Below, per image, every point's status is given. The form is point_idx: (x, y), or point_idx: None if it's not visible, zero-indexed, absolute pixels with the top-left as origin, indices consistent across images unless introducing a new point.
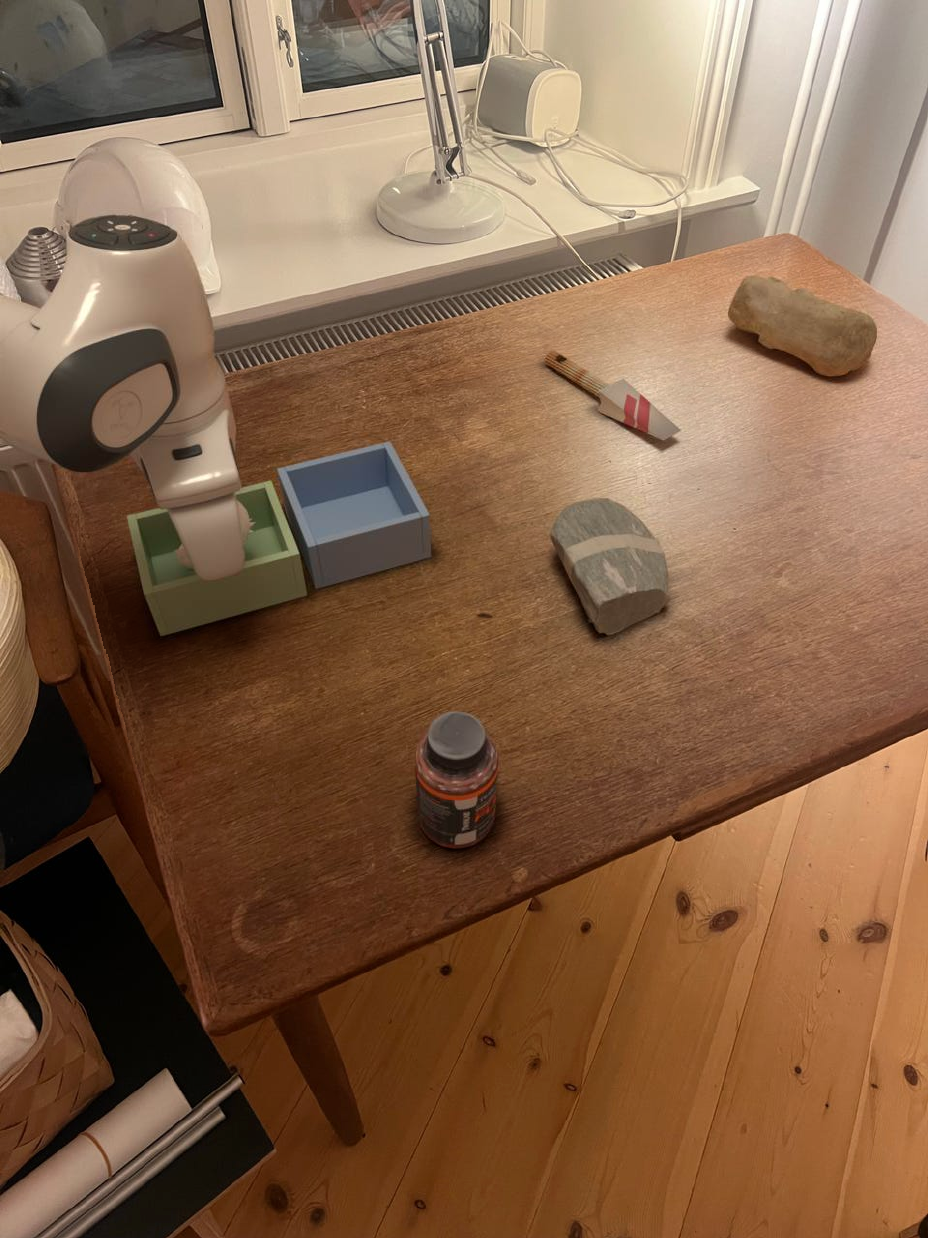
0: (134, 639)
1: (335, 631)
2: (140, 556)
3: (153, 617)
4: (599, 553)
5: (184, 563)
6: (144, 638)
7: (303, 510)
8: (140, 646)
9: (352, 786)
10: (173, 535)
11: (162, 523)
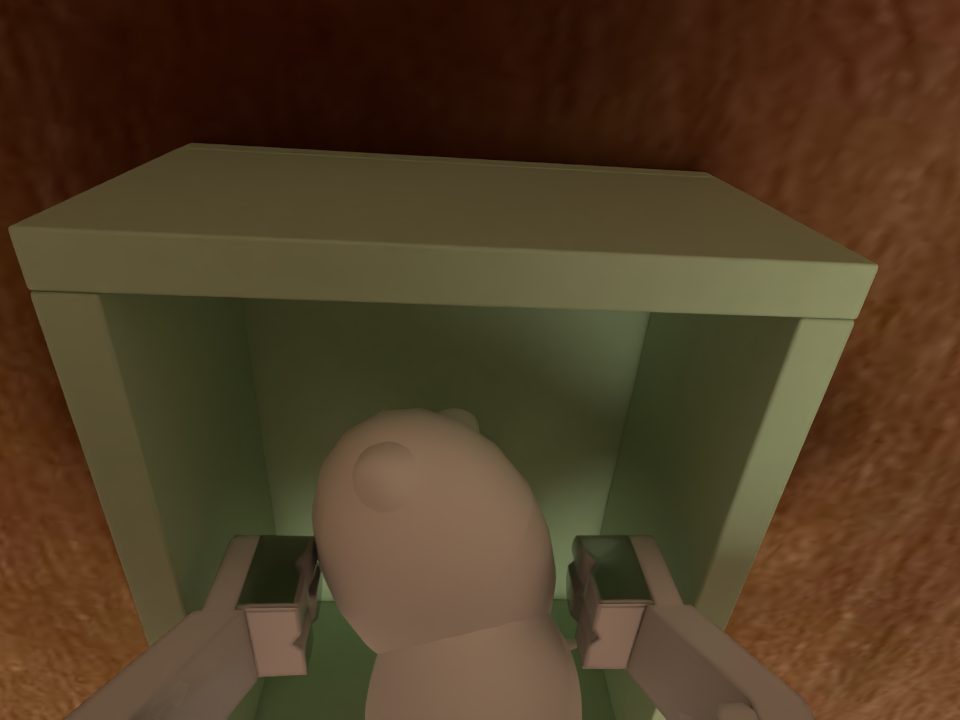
0: (201, 11)
1: (104, 627)
2: (425, 276)
3: (127, 172)
4: None
5: (340, 449)
6: (197, 64)
7: None
8: (146, 31)
9: None
10: (676, 372)
11: (720, 395)
